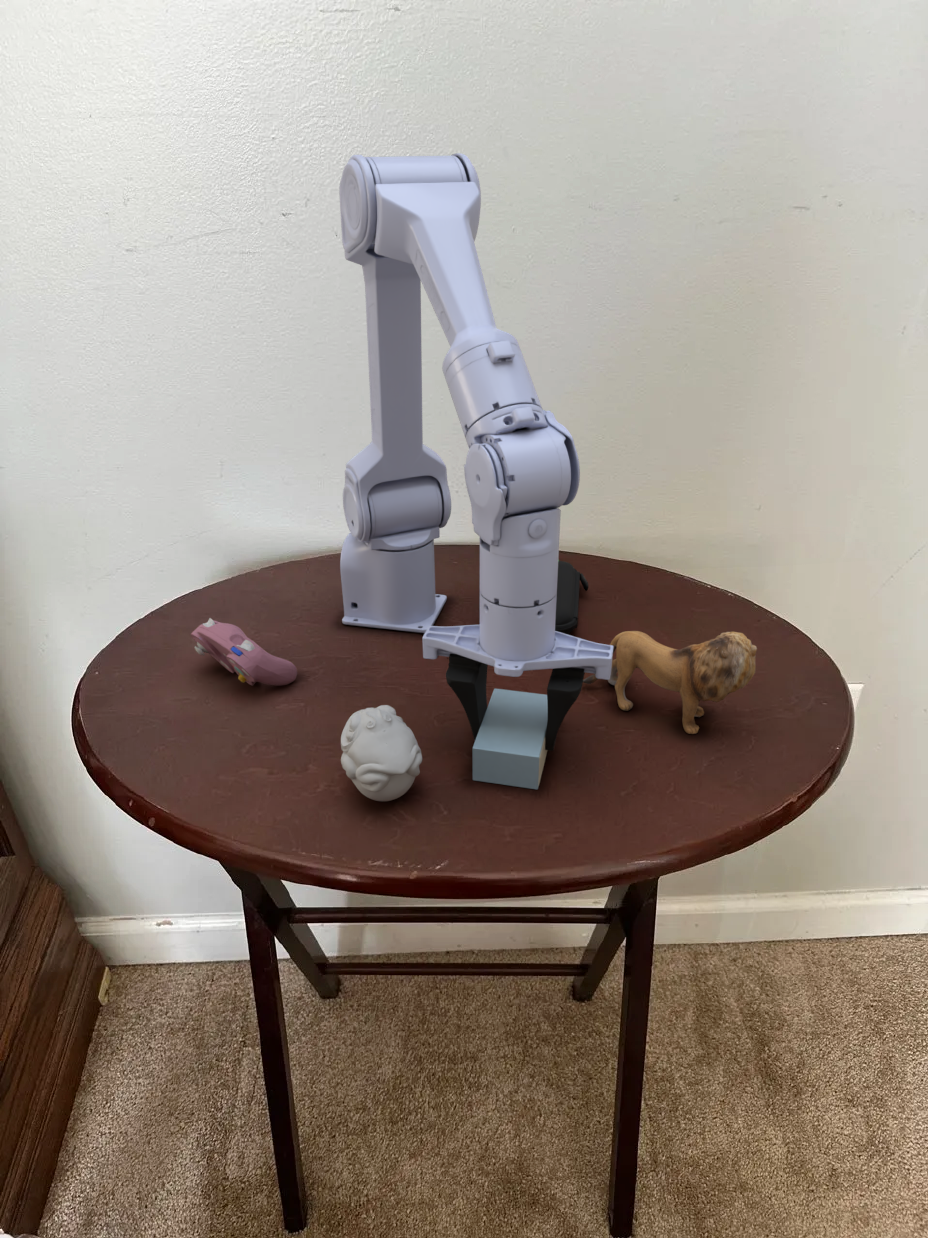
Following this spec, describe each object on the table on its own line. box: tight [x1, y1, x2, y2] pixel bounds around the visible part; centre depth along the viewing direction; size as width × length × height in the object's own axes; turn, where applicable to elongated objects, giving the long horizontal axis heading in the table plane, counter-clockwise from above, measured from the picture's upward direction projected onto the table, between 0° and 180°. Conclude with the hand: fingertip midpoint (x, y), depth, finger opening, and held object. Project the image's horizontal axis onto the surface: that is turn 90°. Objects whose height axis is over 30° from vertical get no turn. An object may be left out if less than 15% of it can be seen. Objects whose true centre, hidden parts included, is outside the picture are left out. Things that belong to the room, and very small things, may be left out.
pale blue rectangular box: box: [471, 688, 548, 790], centre depth 69 cm, size 5×8×3 cm, turn 167°
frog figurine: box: [340, 704, 423, 802], centre depth 64 cm, size 6×7×7 cm
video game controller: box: [190, 617, 298, 687], centre depth 79 cm, size 10×5×7 cm, turn 47°
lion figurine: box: [583, 630, 758, 735], centre depth 73 cm, size 15×5×9 cm, turn 62°
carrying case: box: [555, 560, 589, 635], centre depth 91 cm, size 11×3×15 cm
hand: (514, 738), depth 69 cm, fingers closed on pale blue rectangular box, 5 cm apart
